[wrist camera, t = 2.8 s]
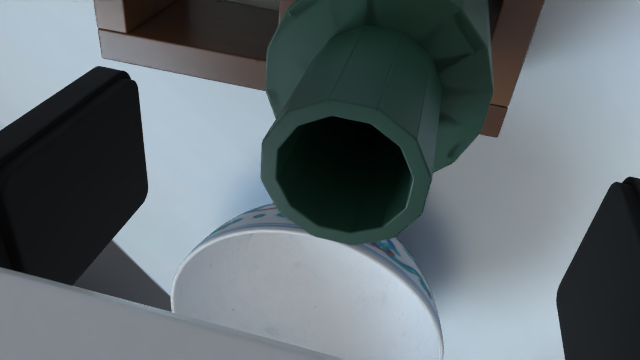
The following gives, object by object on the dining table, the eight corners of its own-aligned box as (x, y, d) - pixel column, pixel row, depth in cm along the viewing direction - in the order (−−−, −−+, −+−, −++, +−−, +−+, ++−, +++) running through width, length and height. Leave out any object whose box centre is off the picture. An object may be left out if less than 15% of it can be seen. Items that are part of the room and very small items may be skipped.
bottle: (366, -118, 23) (198, 7, 9) (501, -98, 22) (543, 71, 8) (348, 13, 26) (206, 251, 13) (465, 34, 26) (453, 312, 12)
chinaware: (472, 169, 30) (471, 265, 24) (428, 343, 38) (419, 447, 32) (215, 126, 32) (153, 203, 26) (228, 300, 41) (184, 388, 35)
